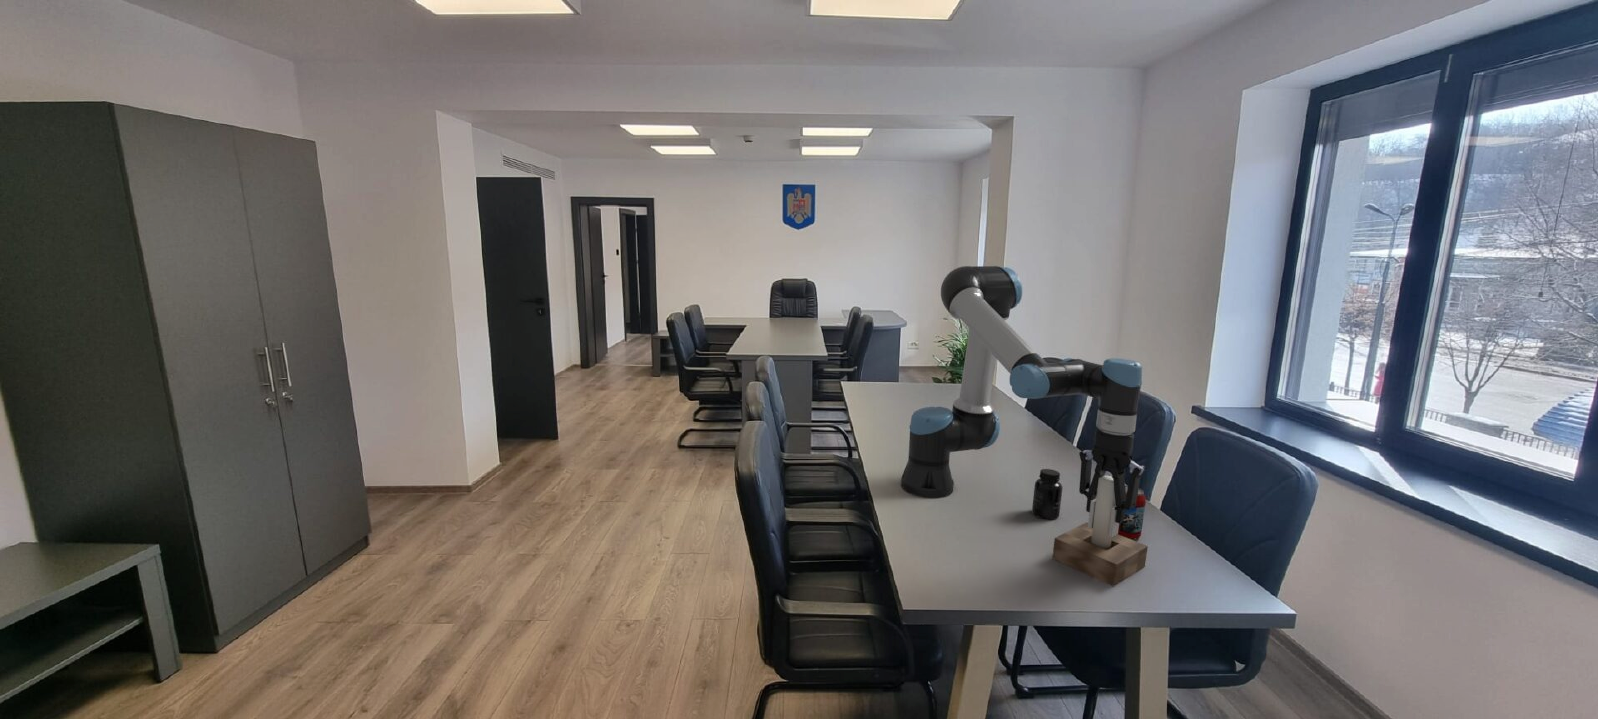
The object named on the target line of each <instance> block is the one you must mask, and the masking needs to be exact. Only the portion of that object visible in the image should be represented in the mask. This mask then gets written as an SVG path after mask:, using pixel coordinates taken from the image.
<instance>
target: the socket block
mask: <svg viewBox="0 0 1598 719" xmlns="http://www.w3.org/2000/svg"><path fill="white" fill-rule="evenodd" d="M1092 530H1093V528H1092V529H1090V528H1088V522H1085V523H1082V524H1080V525H1078V526H1076V527H1074V528H1073V529H1071V530H1067V531H1066V532H1064V533H1062V534H1060V535H1058V536H1056V537H1054V539H1053V540H1054V542H1053V548H1052V549H1053V550H1052V559H1053V560H1056V561H1058V562H1060V563H1062V564H1064V565H1067V566H1069V567H1071V568H1073V569H1075V570H1077V571H1080V572H1082V573H1084V574H1086V575H1088V576H1090V577H1092V578H1095V579H1097V580H1100V581H1101V582H1104V583H1106V584H1108V585H1110V586H1112V587H1115V586H1117V585H1118V584H1120V583H1122V582H1123V581H1124V580H1126V579H1128V578H1129V577H1131V576H1132V575H1133V574H1136V573H1137V572H1139V571H1140V570H1142V569H1144V568H1145V567H1146V562H1147V554H1148V547H1149V546H1148V545H1146V544H1143V543H1142V542H1141V543H1140V542H1138V541H1135V539H1133V540H1131V539H1128V538H1126V537H1123V536H1121V535H1118V534H1117V535H1115V536H1113V537H1112V541H1111V549H1109V550H1104V549H1102V548H1100V547H1097V546H1095V545H1092V544H1091V538H1092Z"/></svg>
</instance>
